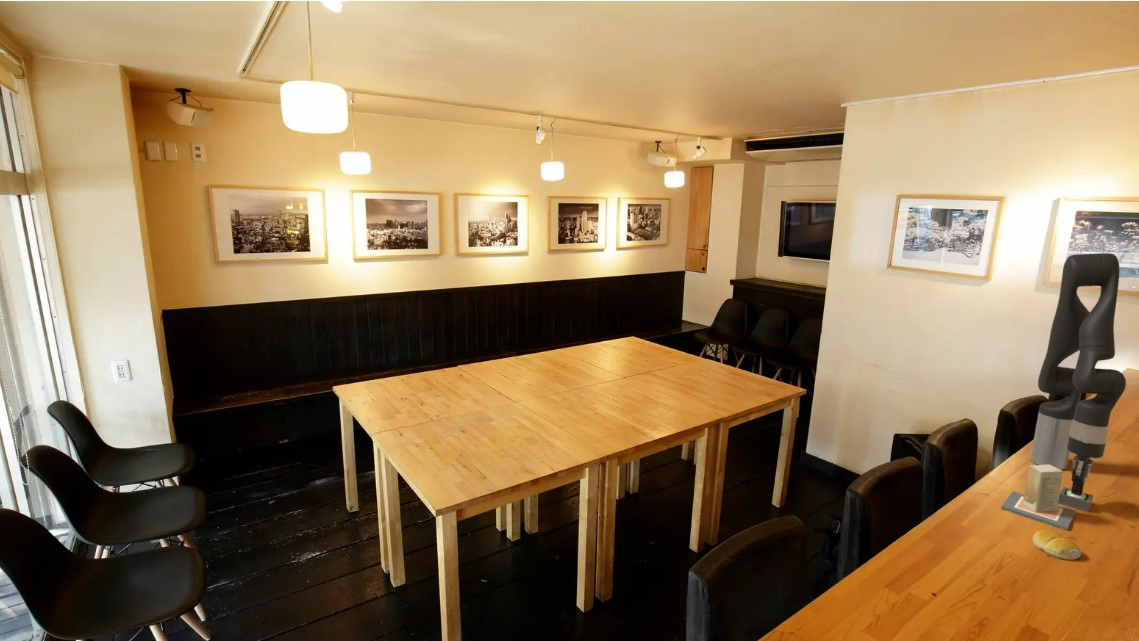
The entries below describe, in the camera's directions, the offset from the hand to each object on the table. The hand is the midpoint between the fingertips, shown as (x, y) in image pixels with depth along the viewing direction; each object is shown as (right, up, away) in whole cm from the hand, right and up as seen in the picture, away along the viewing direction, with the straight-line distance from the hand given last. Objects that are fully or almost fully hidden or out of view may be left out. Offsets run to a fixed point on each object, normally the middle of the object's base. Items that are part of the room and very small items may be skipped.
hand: (1076, 493), depth 155 cm
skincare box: (-14, -3, -3) cm, 14 cm away
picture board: (-14, -4, -3) cm, 14 cm away
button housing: (0, -3, +1) cm, 3 cm away
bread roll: (-24, -8, -20) cm, 33 cm away
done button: (0, -2, 0) cm, 2 cm away
